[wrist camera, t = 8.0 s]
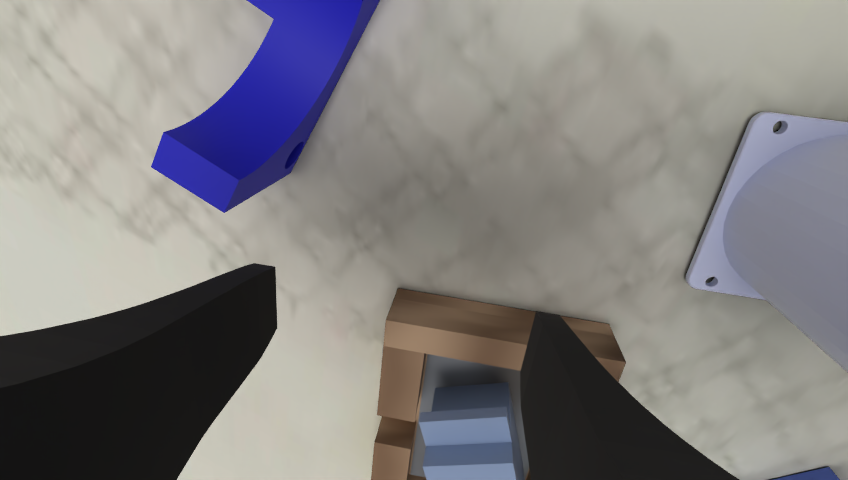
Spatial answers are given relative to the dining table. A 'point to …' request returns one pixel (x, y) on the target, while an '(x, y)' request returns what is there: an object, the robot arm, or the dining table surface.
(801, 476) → the walkman
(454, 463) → the block
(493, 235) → the dining table surface
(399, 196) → the dining table surface
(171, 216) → the dining table surface
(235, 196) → the cable clip
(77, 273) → the dining table surface
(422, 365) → the brown wooden flat frame
